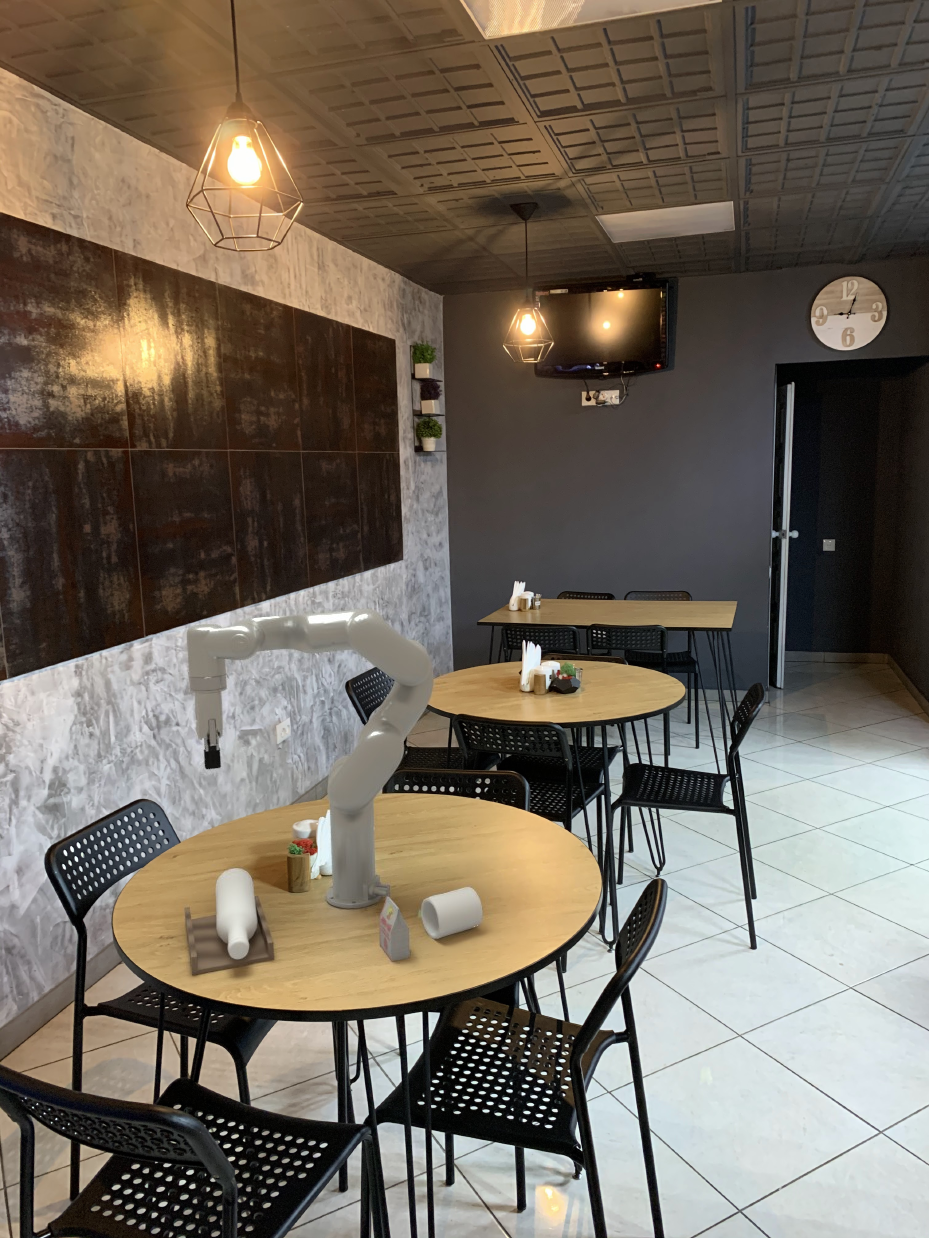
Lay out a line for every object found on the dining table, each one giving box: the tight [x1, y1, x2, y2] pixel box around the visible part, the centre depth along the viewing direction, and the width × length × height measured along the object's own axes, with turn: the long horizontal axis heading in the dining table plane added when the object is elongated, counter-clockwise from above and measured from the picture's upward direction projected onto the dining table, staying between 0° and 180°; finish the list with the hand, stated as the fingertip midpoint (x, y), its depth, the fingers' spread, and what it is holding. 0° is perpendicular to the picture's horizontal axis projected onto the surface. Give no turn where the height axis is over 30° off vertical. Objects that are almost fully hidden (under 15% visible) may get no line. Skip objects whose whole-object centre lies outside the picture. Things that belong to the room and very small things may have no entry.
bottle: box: [215, 867, 257, 959], centre depth 177 cm, size 8×8×30 cm
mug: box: [420, 886, 484, 940], centre depth 180 cm, size 12×10×8 cm
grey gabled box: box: [378, 895, 411, 962], centre depth 170 cm, size 4×7×10 cm, turn 24°
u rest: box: [184, 895, 275, 976], centre depth 175 cm, size 22×15×4 cm
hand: (212, 767), depth 188 cm, fingers closed
